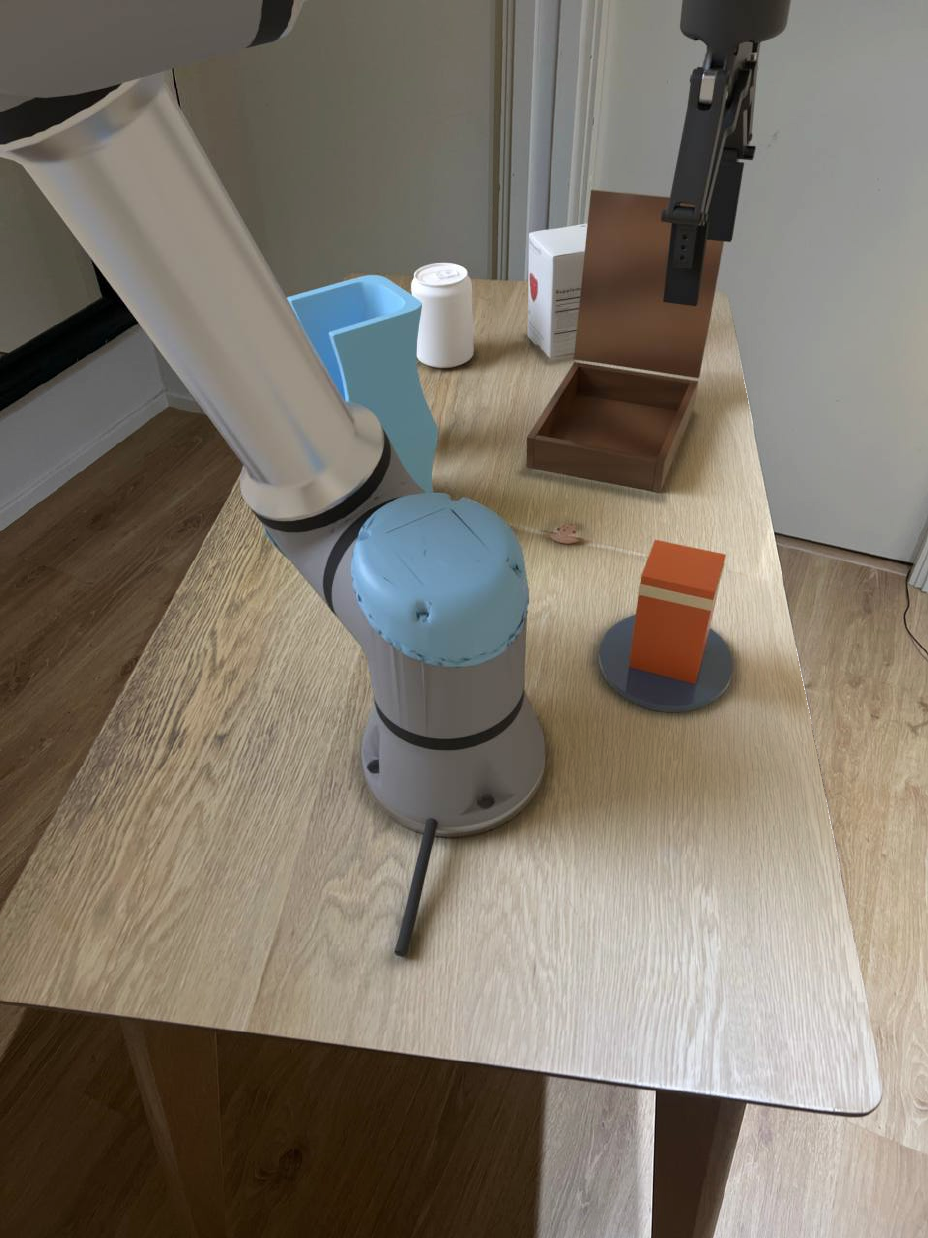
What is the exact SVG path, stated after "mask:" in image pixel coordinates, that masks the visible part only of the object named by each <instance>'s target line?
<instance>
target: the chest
mask: <svg viewBox="0 0 928 1238" xmlns="http://www.w3.org/2000/svg"><path fill="white" fill-rule="evenodd" d="M698 386H699V381H698V380H694V379H687V378H680V377H675V376H668V375H660V374H654V373H648V372H641V371H636V370H629V369H624V368H616V367H609V366H604V365H596V364H590V363H584V362H578V361H574V362H573V363H572V365H571V367H570V368H569V370H568V372H566V375H565V376H564V378H563V379H562V380H561V382H560V384H559V386H558V387H557V389H556V390H555V392H554V394H553V395H552V397H551V398H550V400H549V402H548V403H547V405H546V407H545V408H544V410H543V411H542V413H541V414H540V416H539V417H538V419H537V421H536V422H535V423H534V425H533V427H532V428H531V430H530V432H529V433H528V435H527V437H526V457H525V458H526V462H525V463H526V464H525V465H526V468H527V469H534V470H537V471H543V472H549V473H554V474H559V475H563V476H569V477H575V478H578V479H579V478H580V479H585V480H590V481H595V482H600V483H606V484H611V485H615V486H620V487H625V488H631V489H636V490H640V491H641V490H642V491H645V492H652V493H657V494H661V492H662V490H663V486H664V484H665V482H666V479H667V476H668V475H669V472H670V469H671V467H672V464H673V462H674V460H675V457H676V455H677V453H678V450H679V447H680V445H681V443H682V440H683V438H684V435H685V432H686V430H687V427H688V425H689V423H690V420H691V418H692V416H693V412H694V410H695V404H696V398H697V393H698V392H697V391H698Z"/></svg>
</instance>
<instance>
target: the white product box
mask: <svg viewBox="0 0 928 1238" xmlns="http://www.w3.org/2000/svg"><path fill="white" fill-rule="evenodd" d="M587 224H588V222H586V223H582V224H575V225H571V226H570V225H569V226H563V227H557V228H550V229H541V230H536V231H532V232H529V233H528V271H527V272H528V273H527V275H528V281H527V285H528V286H527V288H528V289H527V294H528V295H527V300H528V301H527V337H528V339H530V341H531V342H532V343H533V344H534V345H535V346H539V348H540V349H541V350H542V351H543V352H544V354H546V356H547V357H548V358H555V357H562V356H567V355H572V354H573V355H574V352H575V343H576V333H577V323H578V313H579V303H580V293H581V283H582V273H583V263H584V254H585V244H586V234H587Z"/></svg>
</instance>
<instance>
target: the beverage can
mask: <svg viewBox="0 0 928 1238" xmlns="http://www.w3.org/2000/svg"><path fill="white" fill-rule="evenodd" d="M468 272H469V271H468V270H467V268H466V267H464V266H462V265H460V264H457V263H450V262H435V263H430V264H426V265H423V266H420V267H419V268H418V269H416V270H415V271H414V273H413V279H412V280H411V282H410V290H411V295H412V296H414V297H415V298H417V299H418V300H419V301H420V302H421V303H422V310H421V317H420V323H419V331H418V339H417V360H418V361H419V362H420V363H422V364H424V365H426V366H429V367H432V368H436V369H451V368H455V367H458V366H461V365H464V364H465V363H467V362H468V361H470V360H471V359H472V358H473V356H474V351H475V349H474V347H475V346H474V318H473V316H474V313H473V285H472V284H473V283H472V279H471V277H470V275H469V273H468Z"/></svg>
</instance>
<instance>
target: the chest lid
mask: <svg viewBox="0 0 928 1238" xmlns="http://www.w3.org/2000/svg"><path fill="white" fill-rule="evenodd" d="M669 200H670V195H658V194H646V193H637V192H627V191H616V190H607V189H606V190H605V189H596V188H592V189H591V190H590V196H589V204H588V214H587V234H586V244H585V254H584V263H583V273H582V283H581V293H580V303H579V313H578V323H577V333H576V343H575V352H574V353H573V360H576V361H581V362H590V363H595V364H601V365H602V364H603V365H608V366H614V367H622V368H629V369H635V370H640V371H641V370H642V371H648V372H653V373H654V372H655V373H661V374H668V375H675V376H681V377H688V378H694V379H699V378H700V377H701V372H702V371H701V370H702V366H703V361H704V355H705V349H706V344H707V339H708V333H709V329H710V322H711V317H712V312H713V306H714V301H715V296H716V295H715V294H716V290H717V284H718V278H719V274H720V268H721V263H722V256H723V251H724V247H725V241H716V240H707V242H706V249H705V256H704V263H703V271H702V278H701V285H700V292H699V300H698V304H697V305H696V306H690V305H682V304H675V303H667V302H663V298H664V289H665V280H666V270H667V261H668V252H669V243H670V234H671V225H672V223H667V222H662V221H661V216H662V210H668V205H669ZM683 206H687V207H695V206H694V205H693V204H687V203H684V204H683Z"/></svg>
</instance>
